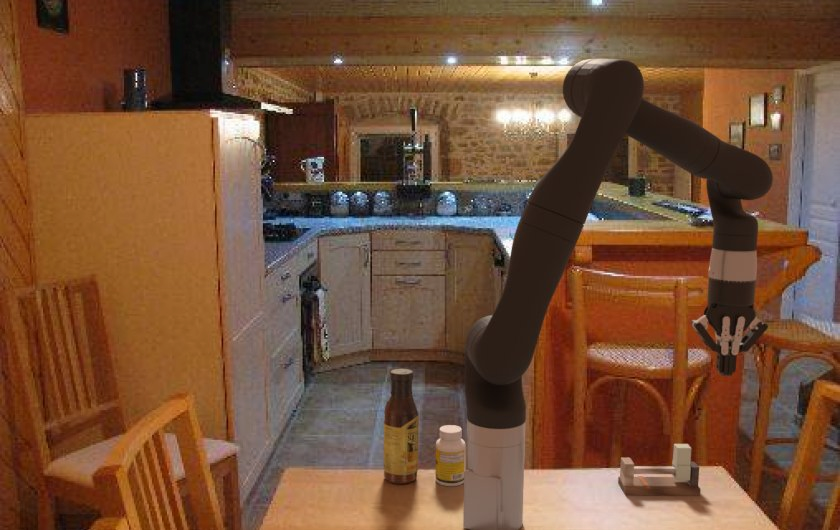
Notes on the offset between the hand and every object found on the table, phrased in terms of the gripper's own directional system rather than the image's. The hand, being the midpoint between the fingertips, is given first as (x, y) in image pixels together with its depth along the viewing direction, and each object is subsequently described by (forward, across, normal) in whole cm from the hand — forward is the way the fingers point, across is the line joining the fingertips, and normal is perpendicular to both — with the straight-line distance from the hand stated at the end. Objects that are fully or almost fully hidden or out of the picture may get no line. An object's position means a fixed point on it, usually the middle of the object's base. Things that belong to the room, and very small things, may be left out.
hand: (725, 374), depth 141 cm
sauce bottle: (+21, -56, +4) cm, 60 cm away
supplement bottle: (+21, -47, +3) cm, 52 cm away
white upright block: (+19, -7, 0) cm, 20 cm away
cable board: (+21, -10, 0) cm, 23 cm away
